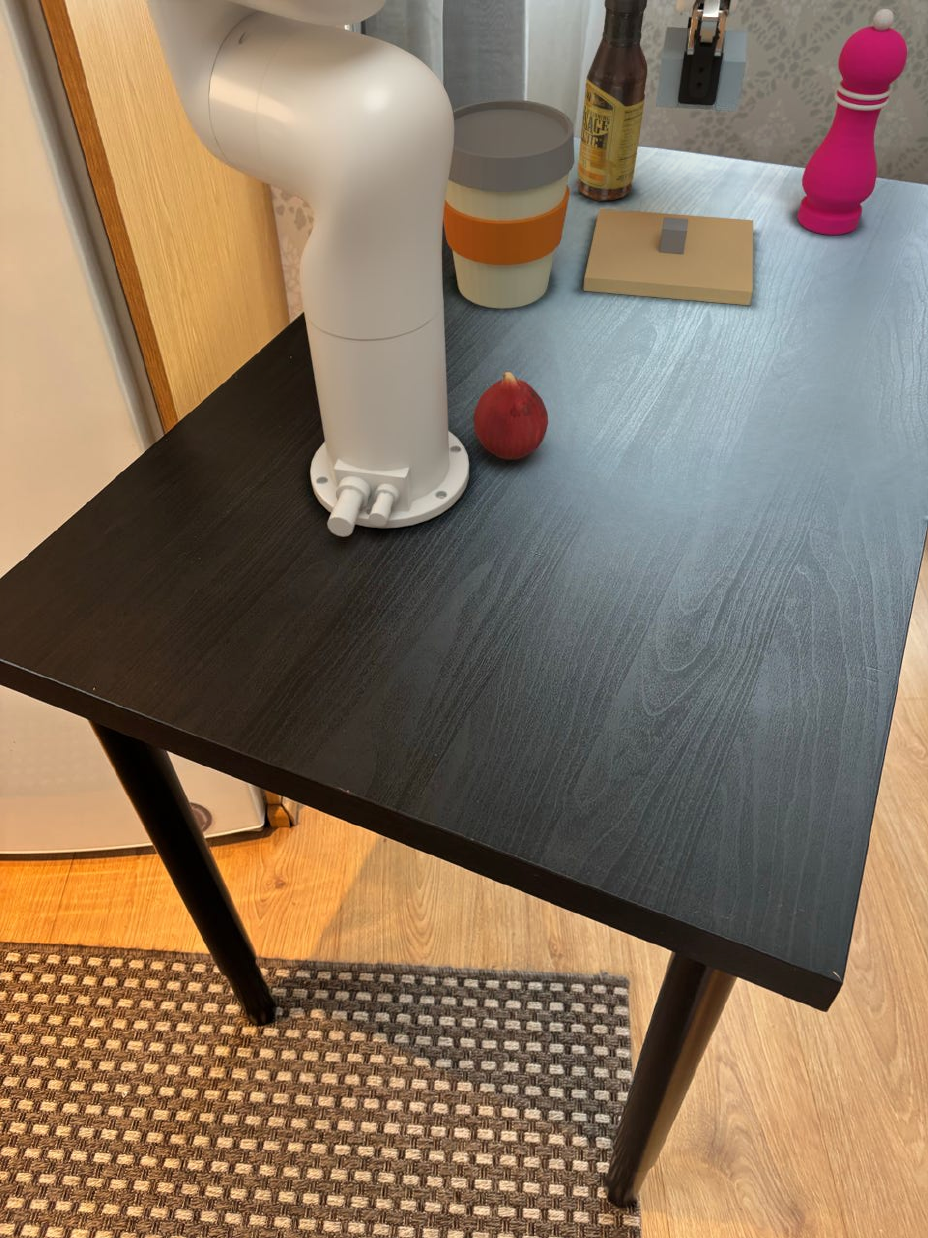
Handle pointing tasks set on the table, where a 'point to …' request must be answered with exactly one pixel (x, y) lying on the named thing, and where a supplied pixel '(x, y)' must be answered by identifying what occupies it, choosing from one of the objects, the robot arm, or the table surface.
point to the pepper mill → (852, 130)
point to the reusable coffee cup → (507, 198)
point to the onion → (510, 418)
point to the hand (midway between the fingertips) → (698, 83)
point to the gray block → (729, 75)
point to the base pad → (671, 256)
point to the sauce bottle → (613, 104)
